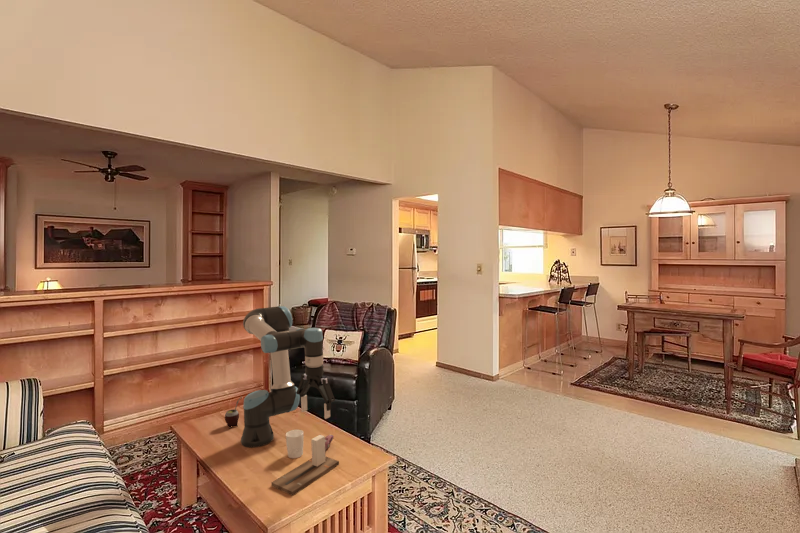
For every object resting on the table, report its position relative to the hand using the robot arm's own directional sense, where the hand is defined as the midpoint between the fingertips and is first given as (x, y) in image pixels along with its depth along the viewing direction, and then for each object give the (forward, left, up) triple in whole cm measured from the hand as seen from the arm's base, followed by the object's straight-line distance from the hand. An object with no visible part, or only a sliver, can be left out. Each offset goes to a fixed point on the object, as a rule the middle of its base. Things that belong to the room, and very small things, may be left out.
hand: (315, 414), depth 172 cm
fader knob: (+1, 0, -21) cm, 21 cm away
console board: (+1, -7, -23) cm, 24 cm away
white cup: (-16, +2, -23) cm, 28 cm away
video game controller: (-9, +14, -23) cm, 28 cm away
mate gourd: (-69, +6, -23) cm, 73 cm away
